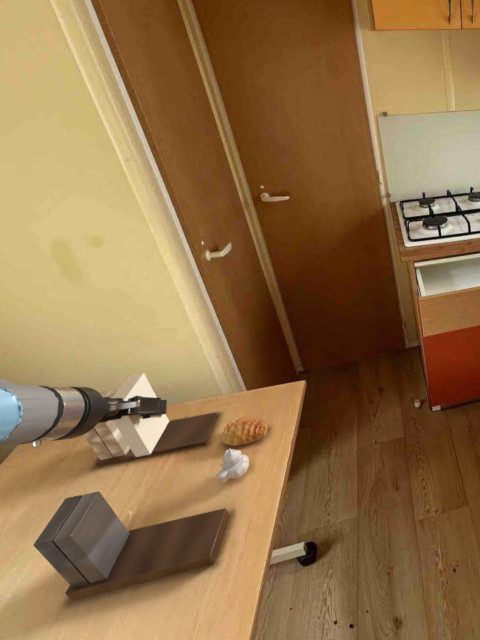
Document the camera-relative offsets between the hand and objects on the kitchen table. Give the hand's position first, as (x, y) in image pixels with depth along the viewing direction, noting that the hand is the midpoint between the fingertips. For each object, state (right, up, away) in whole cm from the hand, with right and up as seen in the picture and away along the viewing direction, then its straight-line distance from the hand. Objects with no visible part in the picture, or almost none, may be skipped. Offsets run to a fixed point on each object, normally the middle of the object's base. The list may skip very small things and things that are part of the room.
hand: (154, 408), depth 83 cm
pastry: (+5, -14, +21) cm, 25 cm away
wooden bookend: (-15, -14, +20) cm, 29 cm away
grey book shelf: (+3, -26, -4) cm, 27 cm away
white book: (+1, -5, -2) cm, 6 cm away
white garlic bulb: (+9, -19, +11) cm, 24 cm away
